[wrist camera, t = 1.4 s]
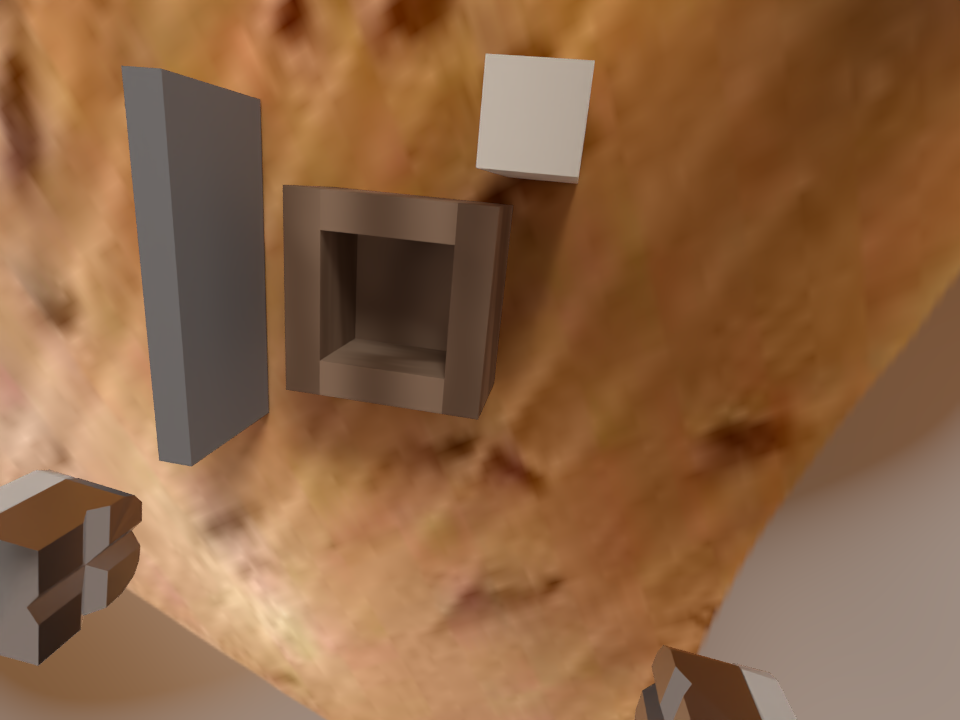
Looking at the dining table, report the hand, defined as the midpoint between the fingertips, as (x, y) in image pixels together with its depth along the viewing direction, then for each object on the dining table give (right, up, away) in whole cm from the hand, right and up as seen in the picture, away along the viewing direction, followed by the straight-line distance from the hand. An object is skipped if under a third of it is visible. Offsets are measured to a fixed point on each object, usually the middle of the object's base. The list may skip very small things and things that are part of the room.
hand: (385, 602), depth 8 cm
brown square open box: (-3, +8, +25) cm, 27 cm away
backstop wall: (-13, +10, +27) cm, 31 cm away
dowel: (+5, +16, +22) cm, 27 cm away
